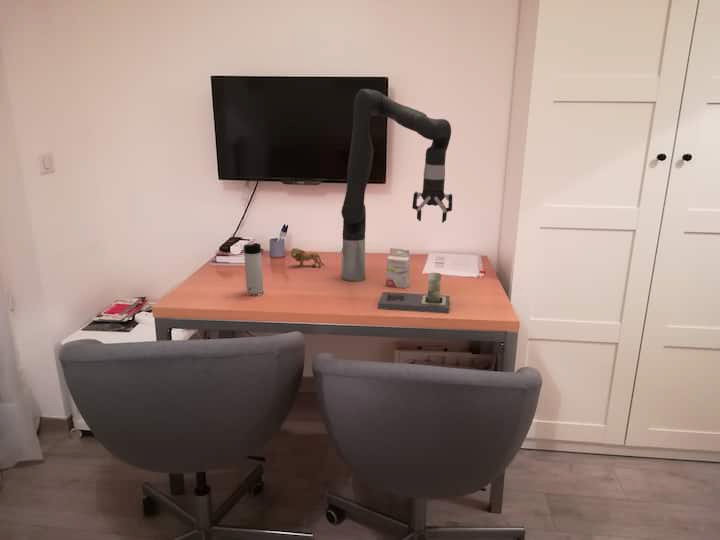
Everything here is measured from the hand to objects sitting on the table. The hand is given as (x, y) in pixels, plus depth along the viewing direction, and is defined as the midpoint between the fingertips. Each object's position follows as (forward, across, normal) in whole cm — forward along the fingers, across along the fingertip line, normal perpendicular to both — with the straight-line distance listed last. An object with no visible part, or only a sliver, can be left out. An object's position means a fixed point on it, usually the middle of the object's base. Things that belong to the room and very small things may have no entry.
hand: (431, 221), depth 195 cm
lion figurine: (+30, +56, -24) cm, 68 cm away
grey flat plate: (+29, +3, +11) cm, 31 cm away
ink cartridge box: (+29, +12, -8) cm, 33 cm away
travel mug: (+31, +65, +12) cm, 73 cm away
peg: (+29, -4, +11) cm, 31 cm away
